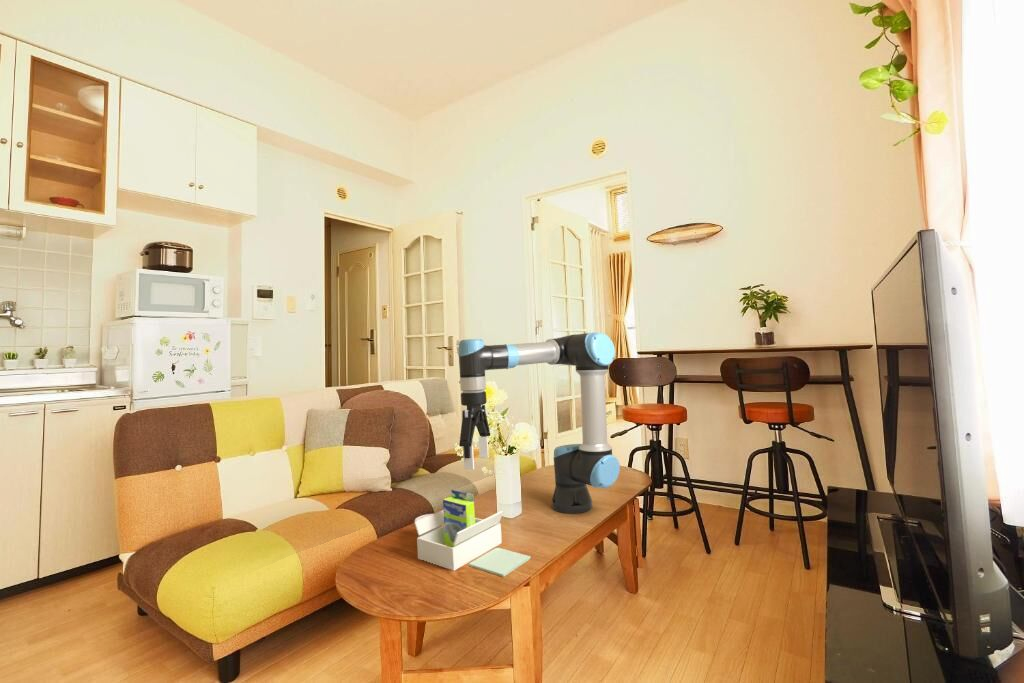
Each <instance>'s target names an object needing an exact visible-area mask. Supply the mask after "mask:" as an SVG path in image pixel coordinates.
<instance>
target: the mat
mask: <svg viewBox="0 0 1024 683" xmlns="http://www.w3.org/2000/svg"><path fill="white" fill-rule="evenodd" d="M531 559H532V558H531V556H530V555H526V554H523V553H519V552H515V551H512V550H508V549H505V548H502V547H497V546H496V547H494V548H492V549H491V550H489V551H487V552H485V553H484V554H482V555H480V556H479V557H477V558H475V559H473V560H472V561H470V562H468V566H469V567H472V568H474V569H477V570H480V571H484V572H487V573H491V574H492V575H497V576H500V577H503V578H505V577H506V576H507V575H508V574H510V573H511V572H513V571H515V570H516V569H518V568H519V567H520V566H522V565H523V564H525V563H526V562H527V561H530V560H531Z"/></svg>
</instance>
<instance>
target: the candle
mask: <svg viewBox="0 0 1024 683" xmlns="http://www.w3.org/2000/svg"><path fill="white" fill-rule="evenodd" d="M432 514H433V513H426V514H423V515H420V516H418V517H415V519H414V522H415V521H418V520H420V519H423V518H425V517H427V516H430V515H432ZM442 526H443V525H440V526H438V527H436V528H434V529H432V530H429V531H427V532H425V533H423V534H421V535H418V534H417V536H418V537H421V536H423V535H425V534H427V533H429V532H431V531H434V530H436V529H438V528H440V527H442Z"/></svg>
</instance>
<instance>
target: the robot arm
mask: <svg viewBox="0 0 1024 683" xmlns="http://www.w3.org/2000/svg"><path fill="white" fill-rule="evenodd" d="M615 355H616V348H615V345H614V342H613V341H612V339H611V338H610V337H609V335H607V334H605V333H603V332H595V331H594V332H587V333H578V334H576V333H575V334H569V335H565V336H561V337H556V338H549V339H546V340H545V341H541V342H527V343H526V342H525V343H513V344H512V343H511V344H508V343H507V344H506V343H504V344H493V345H485V343H484V340H483V339H481V338H473V339H472V338H471V339H470V338H469V339H462V340H459V342H458V355H457V356H458V365H459V366H458V367H459V381H458V383H459V386H460V391H461V393H460V403H461V405H462V406H464V407H466V409H464V410H462V411H461V412H462V413H461V414H462V416H461V427H460V435H459V443H458V444H459V447H462V451H463V453H462V454H463V457H462V458H463V470H464V471H465V470H467V471H468V470H475V461H474V458H475V457H474V445H473V444H472V443H473V439H474V434H475V429H477V432H478V434H479V436H478V451H479V452H478V453H479V456H478V457H479V459H489V441H488V437H490V436H491V432H490V431H491V429H490V426H489V421H488V417H487V413H486V412H487V411H486V404H487V402H488V401H487V392H486V391H485V390H486V389H487V381H486V371H489V370H490V371H491V370H492V371H493V370H508V369H514V368H516V367H517V366H525V365H526V366H527V365H535V364H536V365H537V364H548V365H550V366H551V365H552V366H553V365H554V366H555V365H564V366H565V365H566V366H574V367H575V372H576V373H577V374H578V375H579V379H580V403H581V404H580V405H581V406H580V408H581V428H582V429H581V430H582V431H581V432H582V443H572V444H571V443H570V444H563V445H559V446H556V447H555V448H554V449H553V467H554V468H553V469H554V482H555V486H554V491H553V494H552V499H551V508H552V510H554V511H556V512H559V513H563V514H580V513H585V512H588V511H590V510H592V509H593V499H592V497H591V494H590V490H589V489H588V486H590V487H593V488H597V489H599V488H600V489H608V488H610V487H612V486H613V485H614V484H615V483H616V481H617V480H618V478H619V475H620V472H621V471H620V470H621V469H620V468H621V464H620V461H619V459H618V458H617V457H616V456H615V455H613V447H612V446H611V445H610V444H609V443H608V427H607V400H606V399H607V398H606V379H605V378H606V376H605V375H606V374H607V373H608V372H609V371H610V370H609V369H610V368H609V367H610V366H609V365H611V364H612V363H613V361H614V359H615Z"/></svg>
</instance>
